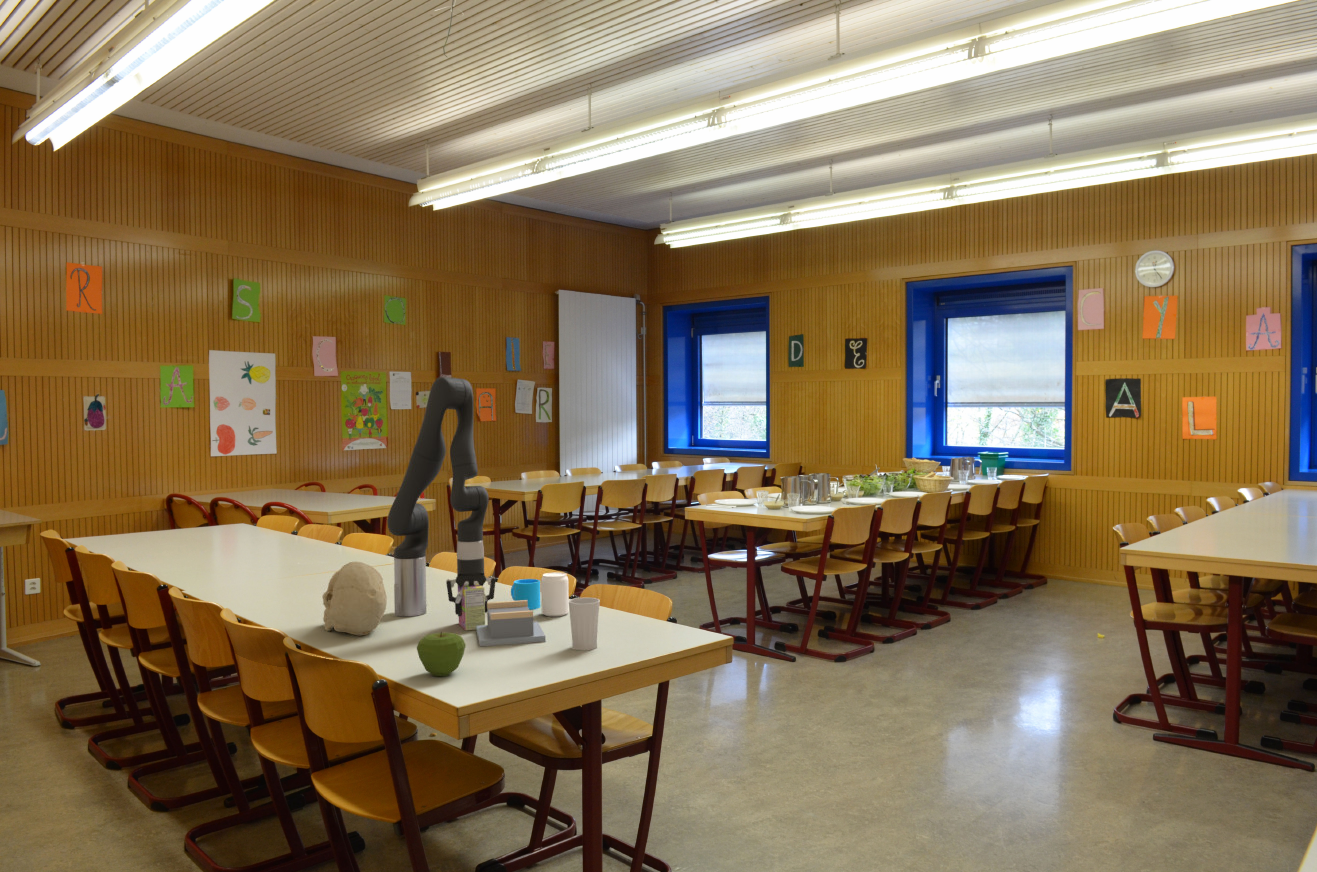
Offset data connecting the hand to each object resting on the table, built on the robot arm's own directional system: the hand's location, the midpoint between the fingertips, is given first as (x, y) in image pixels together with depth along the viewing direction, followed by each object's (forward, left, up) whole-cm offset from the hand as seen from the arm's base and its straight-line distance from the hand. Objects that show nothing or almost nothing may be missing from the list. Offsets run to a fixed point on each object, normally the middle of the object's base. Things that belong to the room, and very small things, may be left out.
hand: (471, 614), depth 251 cm
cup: (+27, -32, -3) cm, 42 cm away
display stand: (+9, -15, -3) cm, 18 cm away
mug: (+17, +22, -3) cm, 28 cm away
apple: (-9, -46, -3) cm, 47 cm away
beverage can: (+25, +8, -3) cm, 26 cm away
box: (0, 0, -3) cm, 3 cm away
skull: (-33, +5, -3) cm, 33 cm away
